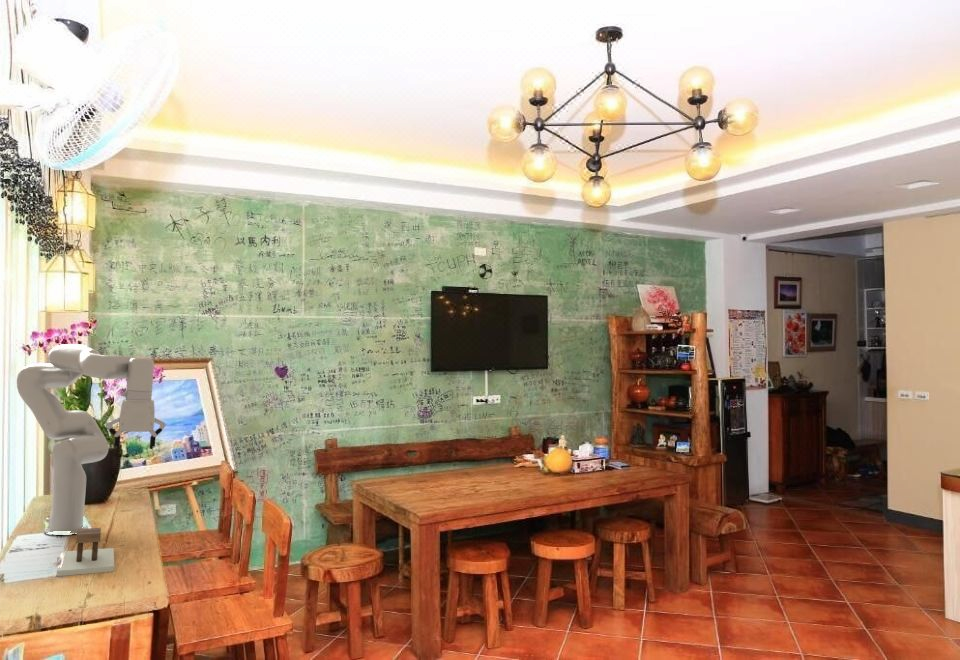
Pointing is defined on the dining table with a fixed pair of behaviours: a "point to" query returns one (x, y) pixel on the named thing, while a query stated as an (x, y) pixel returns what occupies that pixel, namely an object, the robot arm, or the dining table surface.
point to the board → (87, 562)
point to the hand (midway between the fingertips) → (134, 448)
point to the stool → (87, 537)
